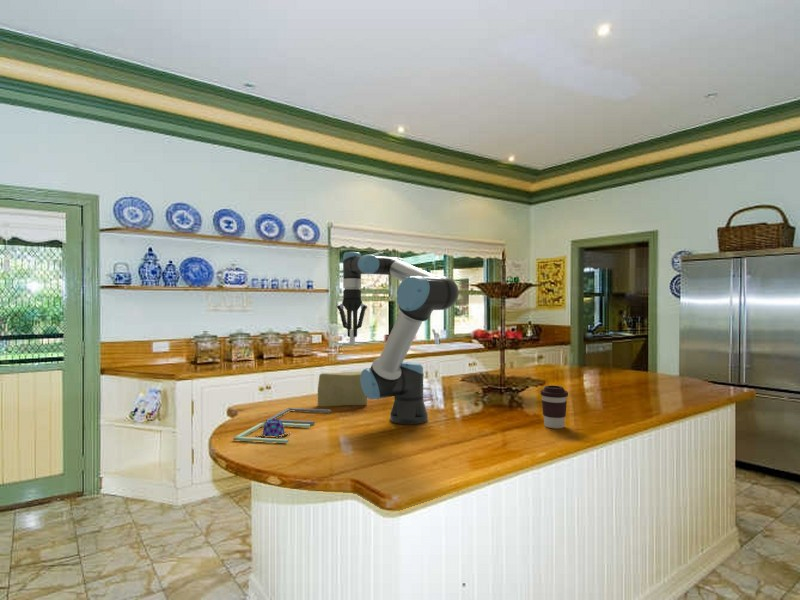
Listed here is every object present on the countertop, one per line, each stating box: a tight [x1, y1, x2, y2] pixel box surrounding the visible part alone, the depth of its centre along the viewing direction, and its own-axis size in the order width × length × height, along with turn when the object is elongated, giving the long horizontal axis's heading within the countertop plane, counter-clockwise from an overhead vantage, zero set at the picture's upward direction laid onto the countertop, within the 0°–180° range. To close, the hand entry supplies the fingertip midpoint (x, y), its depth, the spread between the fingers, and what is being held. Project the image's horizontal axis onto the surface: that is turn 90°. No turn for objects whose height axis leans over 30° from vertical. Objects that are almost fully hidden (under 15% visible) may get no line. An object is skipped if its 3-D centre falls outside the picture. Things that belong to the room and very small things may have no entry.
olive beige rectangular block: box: [317, 370, 368, 407], centre depth 214 cm, size 22×10×15 cm, turn 105°
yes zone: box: [232, 421, 311, 444], centre depth 167 cm, size 20×21×1 cm
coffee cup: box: [540, 385, 569, 430], centre depth 176 cm, size 10×10×15 cm
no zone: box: [265, 407, 332, 426], centre depth 191 cm, size 20×21×1 cm
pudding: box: [261, 418, 292, 439], centre depth 167 cm, size 12×12×5 cm
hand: (352, 344), depth 196 cm, fingers closed
